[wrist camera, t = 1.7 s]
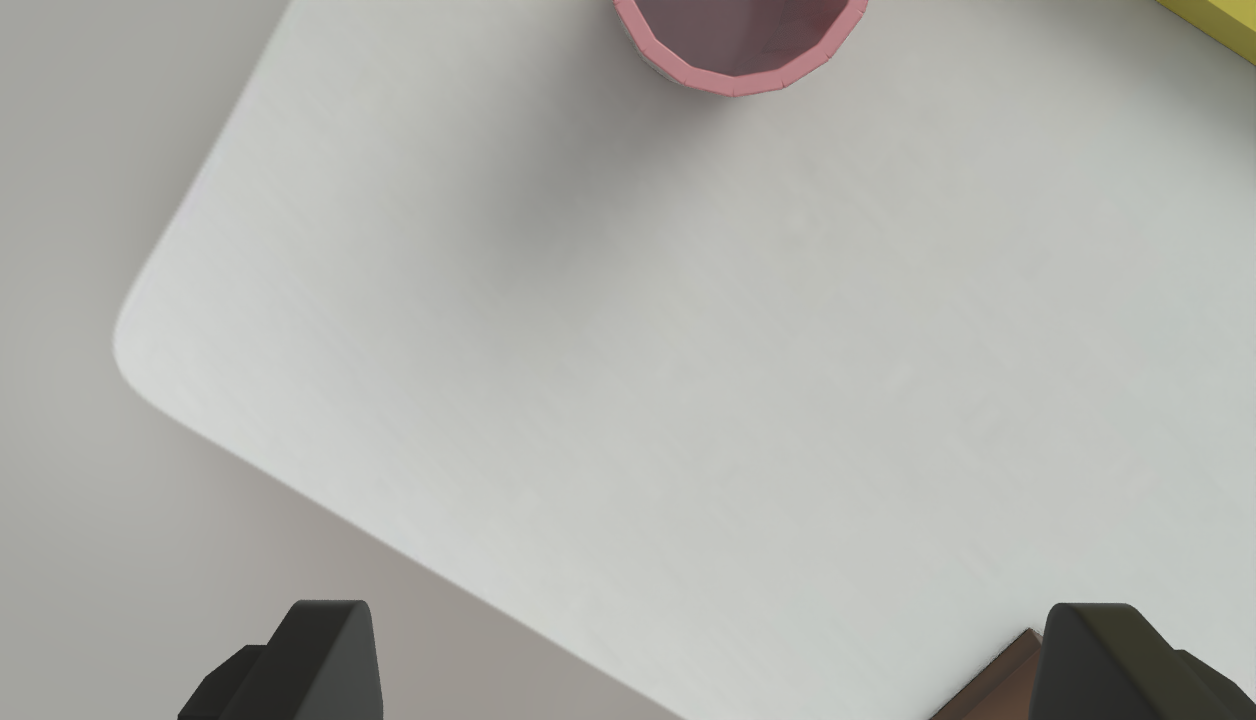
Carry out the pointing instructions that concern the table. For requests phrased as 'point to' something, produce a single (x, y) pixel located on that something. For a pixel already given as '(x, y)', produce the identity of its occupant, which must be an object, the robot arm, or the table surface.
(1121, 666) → the robot arm
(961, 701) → the coaster
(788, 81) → the cup
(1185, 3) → the flat olive board
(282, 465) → the table surface
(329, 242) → the table surface
